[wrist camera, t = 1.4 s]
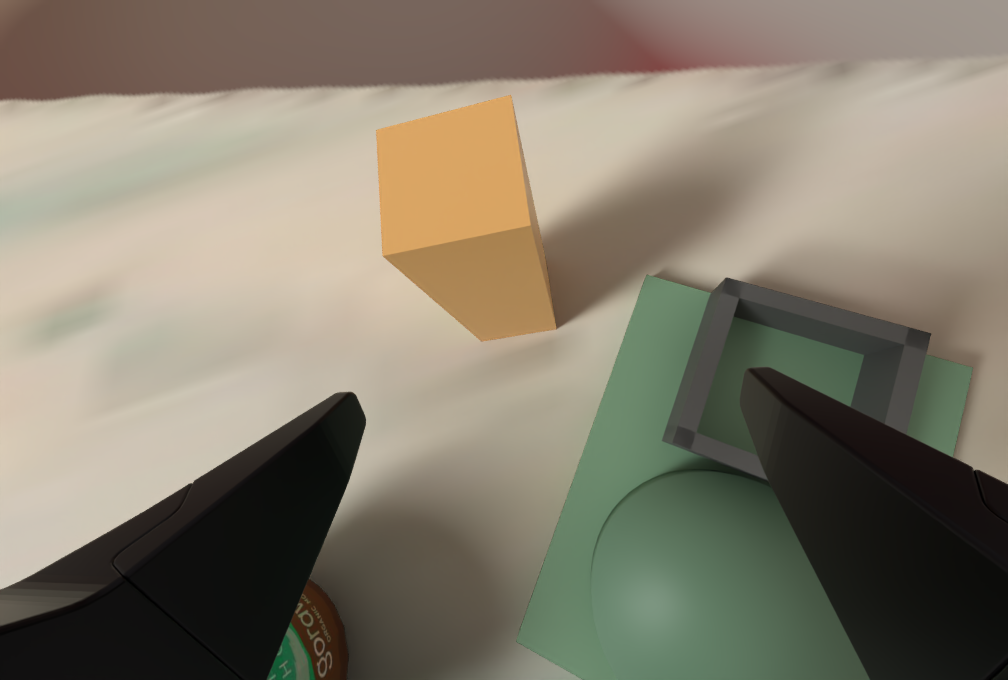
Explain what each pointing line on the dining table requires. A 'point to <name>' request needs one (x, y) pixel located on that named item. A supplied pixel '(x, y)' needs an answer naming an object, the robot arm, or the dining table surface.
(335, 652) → the food container
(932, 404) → the green domed base plate
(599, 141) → the dining table surface
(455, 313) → the chute block
